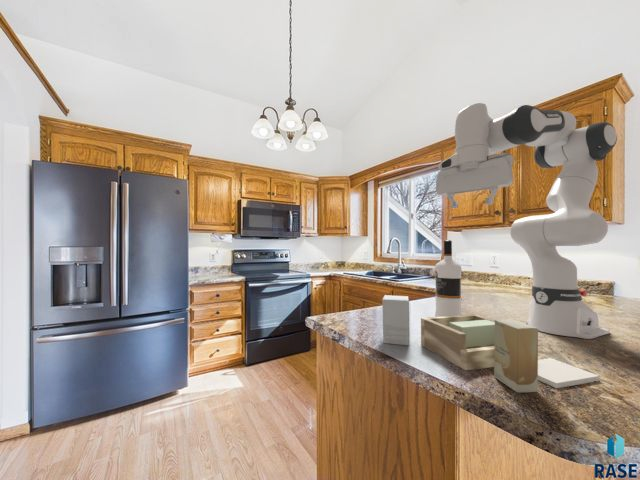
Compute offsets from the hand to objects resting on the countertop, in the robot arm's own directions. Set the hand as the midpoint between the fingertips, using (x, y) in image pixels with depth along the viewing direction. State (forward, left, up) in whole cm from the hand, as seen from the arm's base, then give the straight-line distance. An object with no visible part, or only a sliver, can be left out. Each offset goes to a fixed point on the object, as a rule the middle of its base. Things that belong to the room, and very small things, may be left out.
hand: (471, 206), depth 78 cm
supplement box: (+21, -6, -40) cm, 46 cm away
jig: (+7, +7, -40) cm, 41 cm away
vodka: (-4, -14, -40) cm, 43 cm away
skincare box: (+12, +22, -40) cm, 47 cm away
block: (+6, +7, -37) cm, 38 cm away
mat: (-1, +21, -40) cm, 45 cm away
